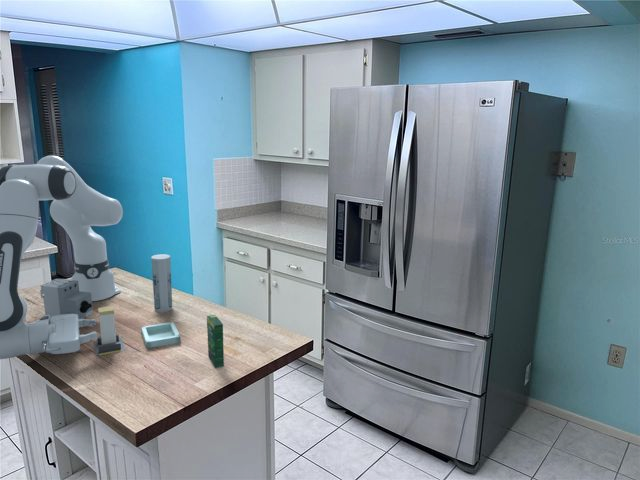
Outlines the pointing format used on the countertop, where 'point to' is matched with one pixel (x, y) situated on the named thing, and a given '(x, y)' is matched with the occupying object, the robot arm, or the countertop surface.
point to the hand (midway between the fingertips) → (96, 328)
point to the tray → (160, 334)
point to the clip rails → (108, 346)
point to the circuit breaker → (66, 298)
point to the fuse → (107, 325)
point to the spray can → (162, 282)
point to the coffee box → (215, 341)
